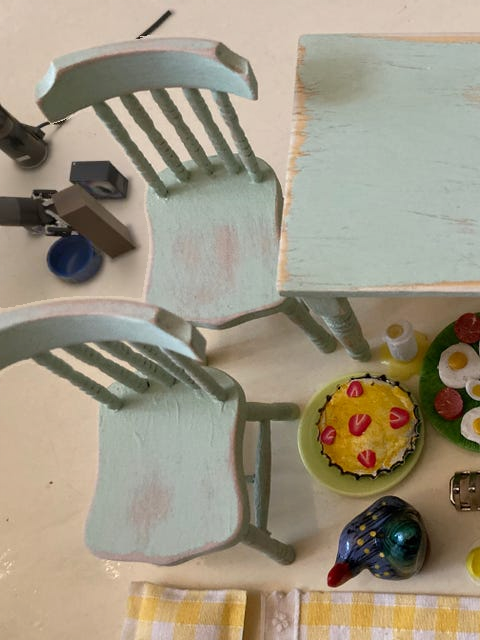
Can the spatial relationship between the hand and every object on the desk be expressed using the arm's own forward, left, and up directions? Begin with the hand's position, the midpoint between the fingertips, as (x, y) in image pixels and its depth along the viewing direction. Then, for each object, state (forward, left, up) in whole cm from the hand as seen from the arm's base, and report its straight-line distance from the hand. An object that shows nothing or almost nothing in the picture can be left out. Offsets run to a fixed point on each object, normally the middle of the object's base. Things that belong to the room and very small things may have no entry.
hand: (81, 213), depth 188 cm
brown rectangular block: (+4, +10, -6) cm, 12 cm away
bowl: (+12, +1, -6) cm, 13 cm away
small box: (-11, 0, -6) cm, 12 cm away
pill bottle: (+5, -15, -6) cm, 17 cm away
